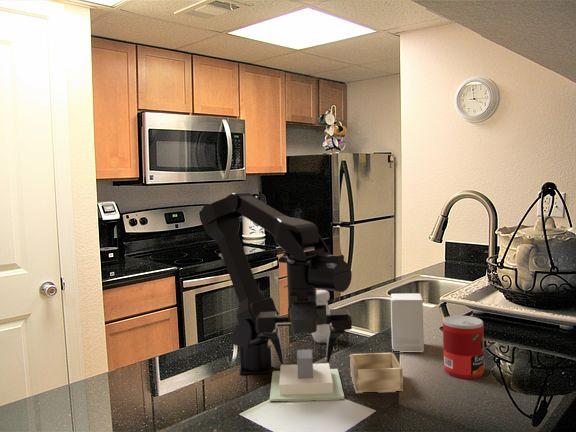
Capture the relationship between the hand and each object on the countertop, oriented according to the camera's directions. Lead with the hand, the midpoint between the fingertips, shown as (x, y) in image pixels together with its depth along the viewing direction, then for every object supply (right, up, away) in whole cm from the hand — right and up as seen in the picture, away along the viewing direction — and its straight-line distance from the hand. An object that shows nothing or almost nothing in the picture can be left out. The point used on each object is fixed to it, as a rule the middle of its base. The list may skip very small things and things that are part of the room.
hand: (305, 362), depth 99 cm
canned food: (+33, -3, +4) cm, 34 cm away
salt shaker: (+6, -3, +28) cm, 29 cm away
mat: (0, -5, 0) cm, 5 cm away
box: (+14, -4, 0) cm, 15 cm away
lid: (0, -4, 0) cm, 4 cm away
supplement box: (+25, -3, +20) cm, 32 cm away
